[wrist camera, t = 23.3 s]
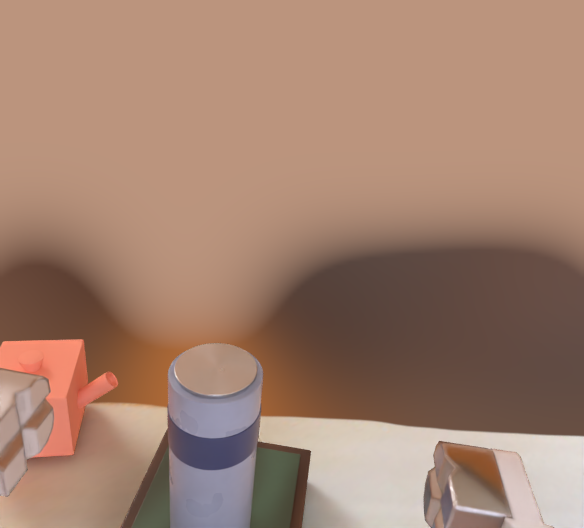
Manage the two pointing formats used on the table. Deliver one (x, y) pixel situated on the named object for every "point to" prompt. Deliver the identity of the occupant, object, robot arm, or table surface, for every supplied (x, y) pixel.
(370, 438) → the table surface
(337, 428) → the table surface
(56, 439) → the pink cube teapot
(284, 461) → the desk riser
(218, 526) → the slim drink can
